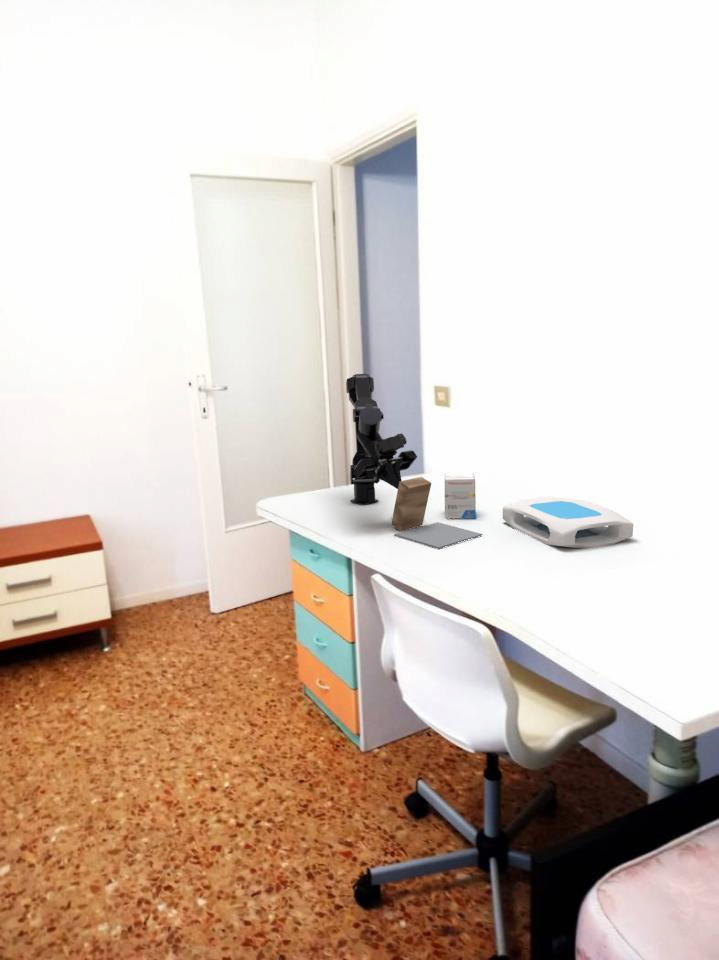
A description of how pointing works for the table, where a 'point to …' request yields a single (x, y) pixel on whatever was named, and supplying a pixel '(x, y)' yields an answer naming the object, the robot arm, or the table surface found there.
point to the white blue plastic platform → (567, 521)
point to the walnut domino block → (410, 503)
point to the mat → (437, 535)
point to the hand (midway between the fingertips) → (401, 488)
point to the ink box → (460, 495)
